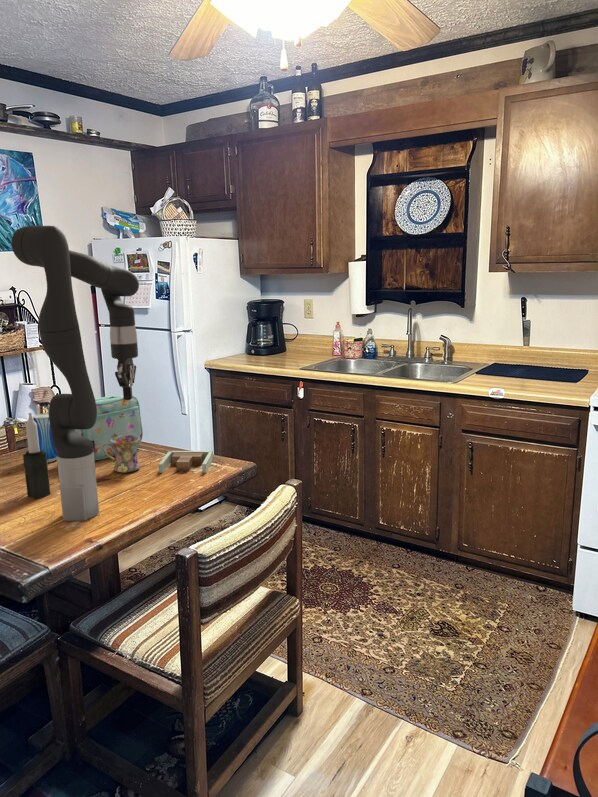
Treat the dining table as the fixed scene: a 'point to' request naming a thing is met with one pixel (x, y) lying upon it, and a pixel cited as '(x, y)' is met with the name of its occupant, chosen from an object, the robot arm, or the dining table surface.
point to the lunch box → (113, 423)
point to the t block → (186, 460)
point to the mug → (125, 453)
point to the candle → (35, 464)
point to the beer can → (45, 436)
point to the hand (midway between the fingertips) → (128, 399)
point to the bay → (206, 454)
